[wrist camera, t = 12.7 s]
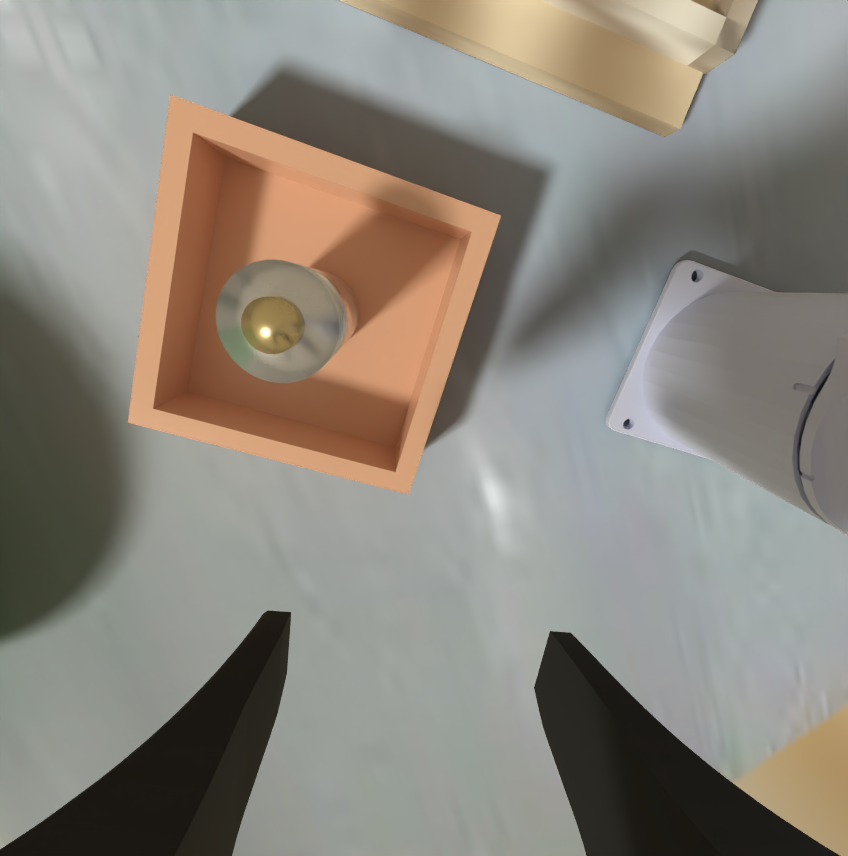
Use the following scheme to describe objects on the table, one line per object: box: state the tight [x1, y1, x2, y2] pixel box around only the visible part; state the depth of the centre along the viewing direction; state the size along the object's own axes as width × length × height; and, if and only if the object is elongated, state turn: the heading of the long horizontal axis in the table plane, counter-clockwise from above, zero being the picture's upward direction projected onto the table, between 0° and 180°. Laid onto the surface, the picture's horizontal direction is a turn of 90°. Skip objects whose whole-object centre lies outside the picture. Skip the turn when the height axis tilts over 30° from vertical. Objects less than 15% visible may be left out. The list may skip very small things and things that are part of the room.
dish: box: [128, 95, 501, 494], centre depth 18 cm, size 11×11×4 cm
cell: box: [216, 259, 359, 383], centre depth 15 cm, size 3×3×8 cm
